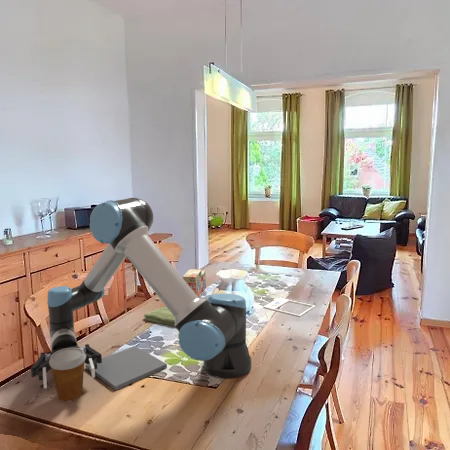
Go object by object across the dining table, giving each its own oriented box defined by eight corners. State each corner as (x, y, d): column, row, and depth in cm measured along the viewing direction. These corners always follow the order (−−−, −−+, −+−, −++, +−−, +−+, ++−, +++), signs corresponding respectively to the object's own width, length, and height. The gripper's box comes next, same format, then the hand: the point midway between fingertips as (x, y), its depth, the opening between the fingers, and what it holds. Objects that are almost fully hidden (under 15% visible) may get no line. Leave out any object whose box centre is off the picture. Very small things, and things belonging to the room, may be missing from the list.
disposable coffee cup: (53, 409, 106) (50, 366, 104) (50, 391, 115) (47, 351, 113) (91, 399, 111) (88, 358, 109) (85, 382, 119) (83, 344, 117)
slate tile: (166, 367, 127) (166, 363, 127) (115, 390, 115) (115, 386, 114) (135, 349, 140) (135, 345, 140) (85, 367, 127) (85, 364, 127)
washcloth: (162, 310, 177) (161, 303, 177) (195, 317, 169) (195, 310, 168) (142, 320, 166) (141, 313, 165) (177, 329, 157) (177, 321, 157)
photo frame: (279, 297, 190) (315, 305, 179) (279, 299, 190) (315, 307, 179) (263, 306, 178) (300, 315, 168) (263, 308, 179) (300, 317, 168)
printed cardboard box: (194, 287, 208) (193, 264, 206) (206, 288, 207) (205, 264, 205) (183, 301, 187) (182, 275, 185) (196, 302, 186) (195, 276, 184)
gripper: (103, 348, 133) (115, 380, 114) (23, 364, 123) (21, 402, 104) (102, 327, 132) (114, 355, 112) (21, 341, 122) (18, 375, 103)
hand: (69, 378), depth 108 cm, fingers open, 11 cm apart
